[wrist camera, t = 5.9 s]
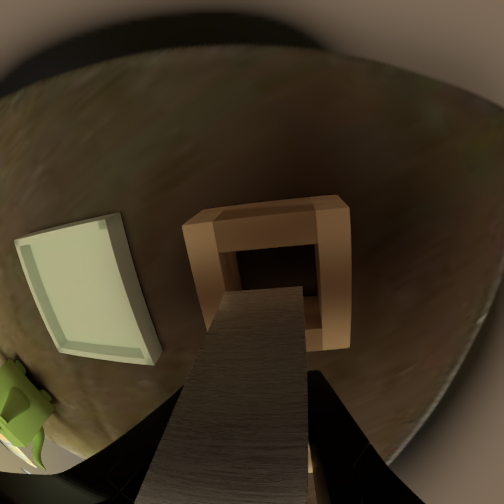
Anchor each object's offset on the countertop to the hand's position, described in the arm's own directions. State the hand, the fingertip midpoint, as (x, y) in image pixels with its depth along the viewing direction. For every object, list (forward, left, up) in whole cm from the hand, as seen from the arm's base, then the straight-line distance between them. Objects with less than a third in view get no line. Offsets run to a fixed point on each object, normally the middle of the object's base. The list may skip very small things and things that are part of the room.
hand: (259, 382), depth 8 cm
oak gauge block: (0, 0, -9) cm, 9 cm away
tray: (-1, +15, -9) cm, 18 cm away
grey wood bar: (0, 0, -3) cm, 3 cm away
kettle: (-17, +37, -10) cm, 42 cm away
